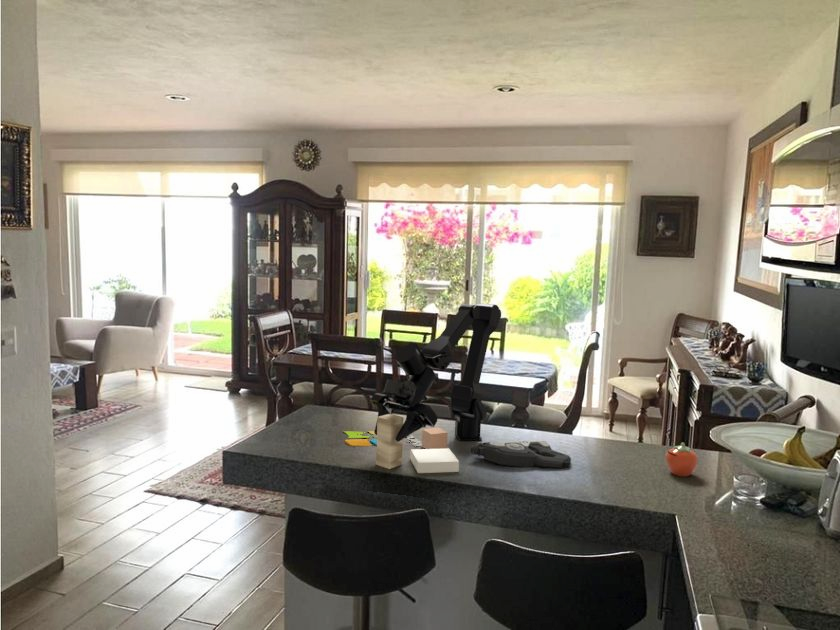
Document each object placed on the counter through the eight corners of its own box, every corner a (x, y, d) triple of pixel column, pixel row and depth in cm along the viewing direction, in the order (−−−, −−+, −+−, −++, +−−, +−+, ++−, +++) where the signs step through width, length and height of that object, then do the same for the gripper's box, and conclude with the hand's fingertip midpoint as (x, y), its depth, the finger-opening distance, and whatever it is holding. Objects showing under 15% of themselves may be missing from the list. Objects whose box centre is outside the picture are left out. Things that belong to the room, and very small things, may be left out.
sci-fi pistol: (579, 456, 152) (547, 435, 166) (493, 459, 143) (466, 436, 157) (577, 473, 152) (544, 450, 166) (491, 477, 143) (464, 453, 157)
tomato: (658, 469, 153) (660, 438, 152) (685, 468, 154) (688, 437, 153) (674, 479, 145) (677, 447, 145) (703, 479, 146) (705, 447, 146)
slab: (448, 459, 155) (449, 448, 155) (458, 473, 146) (459, 461, 145) (410, 460, 153) (410, 449, 153) (417, 474, 144) (418, 462, 143)
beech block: (388, 460, 152) (390, 413, 151) (401, 464, 149) (403, 417, 148) (376, 464, 149) (377, 416, 147) (389, 469, 146) (390, 420, 145)
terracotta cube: (438, 445, 166) (438, 427, 166) (446, 450, 162) (447, 432, 161) (421, 447, 164) (422, 429, 163) (430, 452, 159) (431, 434, 159)
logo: (426, 444, 165) (357, 451, 156) (426, 447, 165) (357, 455, 156) (394, 422, 185) (331, 427, 177) (394, 425, 185) (331, 431, 177)
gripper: (376, 362, 156) (343, 411, 148) (431, 372, 144) (398, 426, 136) (396, 388, 162) (365, 436, 155) (450, 400, 150) (420, 453, 143)
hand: (386, 437), depth 147 cm, fingers open, 7 cm apart
